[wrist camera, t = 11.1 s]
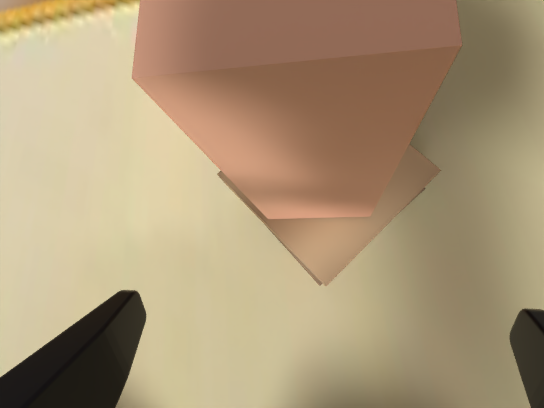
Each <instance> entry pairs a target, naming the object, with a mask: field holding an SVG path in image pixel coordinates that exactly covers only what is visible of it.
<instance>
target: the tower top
mask: <svg viewBox="0 0 544 408" xmlns="http://www.w3.org/2000/svg"><path fill="white" fill-rule="evenodd" d="M440 171H441V170H440V169H439V168H438V167H437V166H436V165H434V164H433V163H432V162H431V161H429V160H428V159H427V158H426V157H425V156H423V155H422V154H421V153H420V152H419V151H417V150H416V149H415V148H414V147H412V146H411V145H410V144H409V145H408V147H407V149H406V151H405V153H404V155H403V157H402V158H401V160H400V162H399V164H398V166H397V168H396V170H395V171H394V173H393V175H392V177H391V179H390V181H389V183H388V185H387V186H386V188H385V190H384V192H383V194H382V196H381V198H380V199H379V201H378V203H377V205H376V207H375V209H374V211H373V212H372V214H371V216H370V217H335V218H297V219H267V218H266V217H265V215H264V214H263V213H262V212H261V211H260V210H259V209H258V208H257V207H256V206H255V205H254V204H253V203H252V202H251V201H250V200H249V199H248V198H247V197H246V196H245V195H244V194H243V193H242V192H241V191H240V190H239V189H238V188H237V187H236V185H235V184H234V183H233V182H232V181H231V180H230V179H229V178H228V177H227V176H226V175H225V174H224V173H223V172H222V171H220V172H219V173H218V174H217V175H218V176H219V177H220V178H221V179H222V180H223V181H224V183H225V184H226V185H227V186H228V187H229V188H230V189H231V190H232V191H233V192H234V193H235V194H236V195H237V196H238V197H239V198H240V199H241V200H242V201H243V202H244V203H245V205H246V206H247V207H248V208H249V209H250V210H251V211H252V212H253V213H254V214H255V215H256V216H257V217H258V218H259V219H260V220H261V221H262V222H263V223H264V224H265V225H266V226H267V227H268V228H269V229H270V230H271V231H272V232H273V233H274V234H275V235H276V236H277V237H278V238H279V239H280V240H281V241H282V242H283V243H284V244H285V245H286V246H287V248H288V249H289V250H290V251H291V252H292V253H293V254H294V255H295V256H296V257H297V258H298V259H299V260H300V261H301V262H302V263H303V264H304V265H305V266H306V267H307V268H308V269H309V270H310V271H311V272H312V273H313V274H314V275H315V276H316V277H317V278H318V279H319V280H320V281H321V282H322V283H323V284H324V285H325V286H327V285H328V284H329V283H330V282H331V281H332V280H333V279H334V278H335V277H336V276H337V275H338V274H339V273H340V272H341V271H342V270H343V269H344V268H345V267H346V266H347V265H348V264H349V263H350V262H351V261H352V260H353V259H354V258H355V257H356V256H357V255H358V254H359V253H360V252H361V251H362V250H363V249H364V248H365V247H366V246H367V245H368V244H369V243H370V242H371V241H372V239H373V238H374V237H375V236H376V235H377V234H378V233H379V232H380V231H381V230H382V229H383V228H384V227H385V226H386V225H387V224H388V223H389V222H390V221H391V220H392V219H393V218H394V217H395V216H396V215H397V214H398V213H399V212H400V211H401V210H402V209H403V208H404V207H405V206H406V205H407V204H408V203H409V202H410V201H411V200H412V199H413V198H414V197H415V196H416V195H417V194H418V193H419V192H420V191H421V190H422V189H423V188H424V187H425V186H426V185H427V184H428V183H429V182H430V181H431V180H432V179H433V178H434V177H435V176H436V175H437V174H438V173H439V172H440Z"/></svg>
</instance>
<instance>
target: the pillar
mask: <svg viewBox="0 0 544 408" xmlns="http://www.w3.org/2000/svg"><path fill="white" fill-rule="evenodd" d="M461 47H462V40H461V33H460V26H459V18H458V11H457V3H456V0H140V7H139V16H138V25H137V34H136V44H135V53H134V62H133V71H132V79H133V80H134V81H135V82H136V83H137V84H138V85H139V86H140V87H141V88H142V89H143V90H144V91H145V92H146V93H147V94H148V95H149V96H150V98H151V99H152V100H153V101H154V102H155V103H156V104H157V105H158V106H159V107H160V108H161V109H162V110H163V111H164V112H165V113H166V114H167V115H168V116H169V117H170V118H171V119H172V120H173V121H174V122H175V123H176V124H177V125H178V126H179V128H180V129H181V130H182V131H183V132H184V133H185V134H186V135H187V136H188V137H189V138H190V139H191V140H192V141H193V142H194V143H195V144H196V145H197V146H198V147H199V148H200V149H201V150H202V151H203V152H204V153H205V154H206V155H207V156H208V158H209V159H210V160H211V161H212V162H213V163H214V164H215V165H216V166H217V167H218V168H219V169H220V170H221V171H222V172H223V173H224V174H225V175H226V176H227V177H228V178H229V179H230V180H231V181H232V182H233V183H234V184H235V185H236V187H237V188H238V189H239V190H240V191H241V192H242V193H243V194H244V195H245V196H246V197H247V198H248V199H249V200H250V201H251V202H252V203H253V204H254V205H255V206H256V207H257V208H258V209H259V210H260V211H261V212H262V213H263V214H264V215H265V217H266V218H267V219H297V218H335V217H370V216H371V214H372V212H373V211H374V209H375V207H376V205H377V203H378V201H379V199H380V198H381V196H382V194H383V192H384V190H385V188H386V186H387V185H388V183H389V181H390V179H391V177H392V175H393V173H394V171H395V170H396V168H397V166H398V164H399V162H400V160H401V158H402V157H403V155H404V153H405V151H406V149H407V147H408V145H409V143H410V142H411V140H412V138H413V136H414V134H415V132H416V130H417V129H418V127H419V125H420V123H421V121H422V119H423V117H424V116H425V114H426V112H427V110H428V108H429V106H430V104H431V102H432V101H433V99H434V97H435V95H436V93H437V91H438V89H439V88H440V86H441V84H442V82H443V80H444V78H445V76H446V74H447V73H448V71H449V69H450V67H451V65H452V63H453V61H454V60H455V58H456V56H457V54H458V52H459V50H460V48H461Z"/></svg>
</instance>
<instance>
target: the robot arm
mask: <svg viewBox="0 0 544 408" xmlns="http://www.w3.org/2000/svg"><path fill="white" fill-rule="evenodd" d="M145 322H146V311H145V308H144V305H143V303H142V300H141V297H140V294H139V293H138V292H137V291H135V290H121V291H119V292H117V293H116V294H115V295H113V296H112V297H111V298H109V299H108V300H106V301H105V302H104V303H102V304H101V305H99V306H98V307H97V308H95V309H94V310H93V311H91V312H90V313H88V314H87V315H86V316H84V317H83V318H82V319H80V320H79V321H77V322H76V323H75V324H73V325H72V326H71V327H69V328H68V329H66V330H65V331H64V332H62V333H61V334H59V335H58V336H57V337H55V338H54V339H53V340H51V341H50V342H48V343H47V344H46V345H44V346H43V347H42V348H40V349H39V350H37V351H36V352H35V353H33V354H32V355H30V356H29V357H28V358H26V359H25V360H24V361H22V362H21V363H19V364H18V365H17V366H15V367H14V368H13V369H11V370H10V371H8V372H7V373H6V374H4V375H3V376H1V377H0V408H115V407H116V405H117V402H118V400H119V398H120V395H121V393H122V391H123V388H124V386H125V383H126V381H127V378H128V375H129V372H130V370H131V366H132V363H133V360H134V357H135V354H136V350H137V347H138V344H139V341H140V338H141V335H142V331H143V328H144V325H145ZM510 343H511V347H512V350H513V353H514V356H515V359H516V363H517V366H518V369H519V372H520V375H521V378H522V381H523V385H524V388H525V391H526V394H527V397H528V400H529V403H530V406H531V408H544V310H541V309H522V310H521V311H520V312H519V314H518V316H517V318H516V320H515V322H514V325H513V327H512V329H511V332H510Z"/></svg>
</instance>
